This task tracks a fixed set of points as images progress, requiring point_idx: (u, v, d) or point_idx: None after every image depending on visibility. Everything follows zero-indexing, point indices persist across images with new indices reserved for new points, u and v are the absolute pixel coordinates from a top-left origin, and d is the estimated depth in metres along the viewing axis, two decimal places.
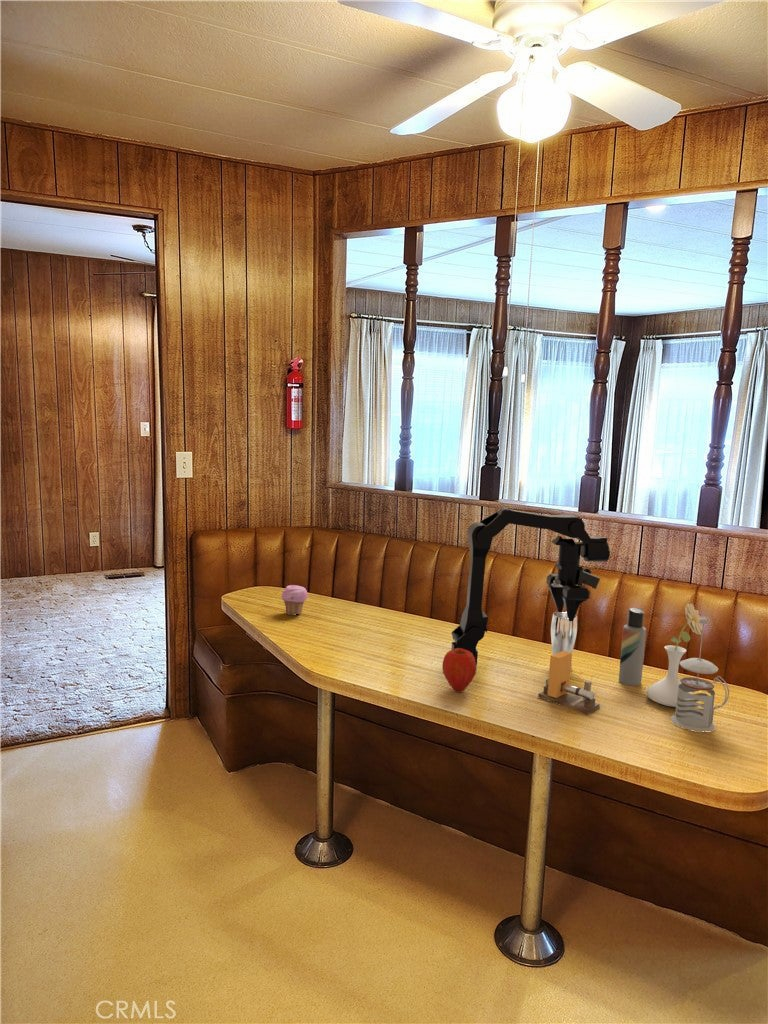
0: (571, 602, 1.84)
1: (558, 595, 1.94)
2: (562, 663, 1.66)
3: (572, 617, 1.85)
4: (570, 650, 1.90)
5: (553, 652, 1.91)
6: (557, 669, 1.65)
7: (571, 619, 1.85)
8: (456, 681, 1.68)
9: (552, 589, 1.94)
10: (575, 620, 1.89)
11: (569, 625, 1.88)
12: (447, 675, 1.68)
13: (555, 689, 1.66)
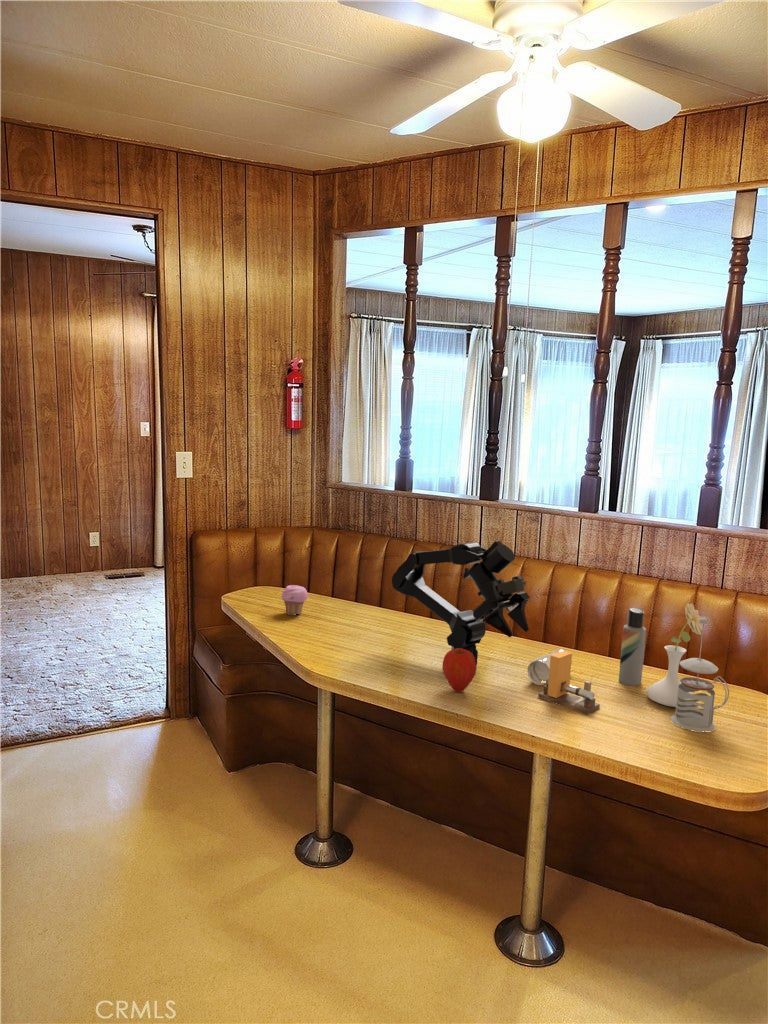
0: (495, 620, 1.75)
1: (516, 616, 1.81)
2: (562, 663, 1.66)
3: (508, 632, 1.73)
4: None
5: None
6: (557, 669, 1.65)
7: (509, 634, 1.73)
8: (456, 681, 1.68)
9: (509, 614, 1.83)
10: None
11: None
12: (447, 675, 1.68)
13: (555, 689, 1.66)
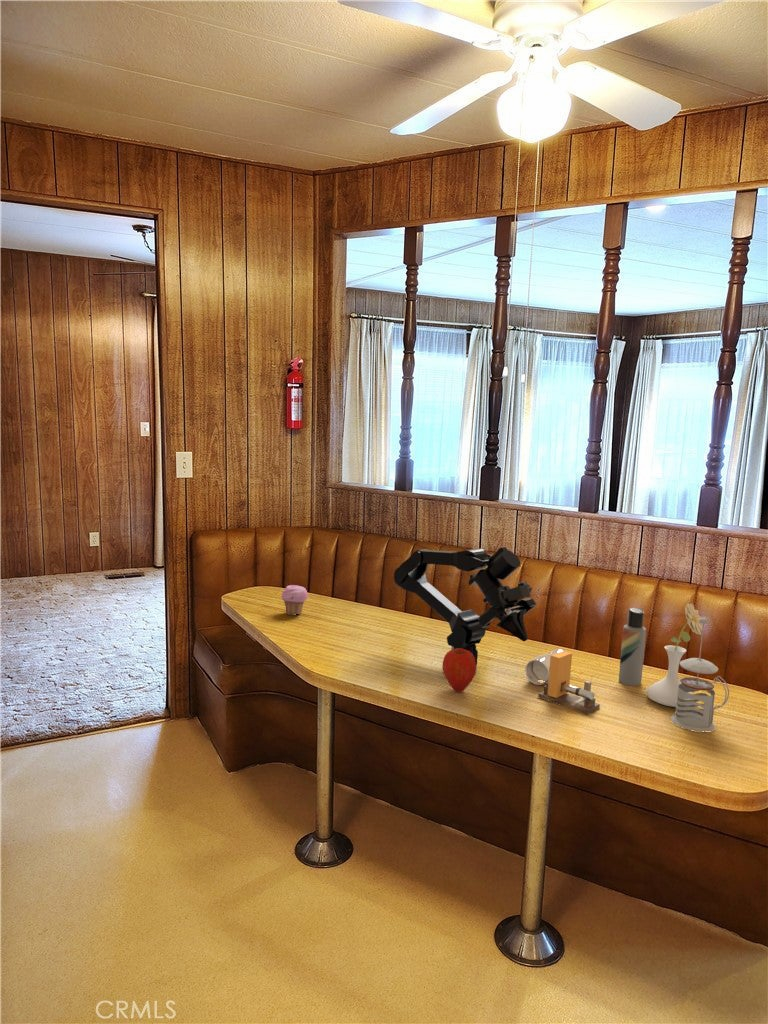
0: (509, 624, 1.76)
1: None
2: (562, 663, 1.66)
3: (522, 636, 1.75)
4: None
5: None
6: (557, 669, 1.65)
7: (523, 638, 1.75)
8: (456, 681, 1.68)
9: None
10: None
11: None
12: (447, 675, 1.68)
13: (555, 689, 1.66)
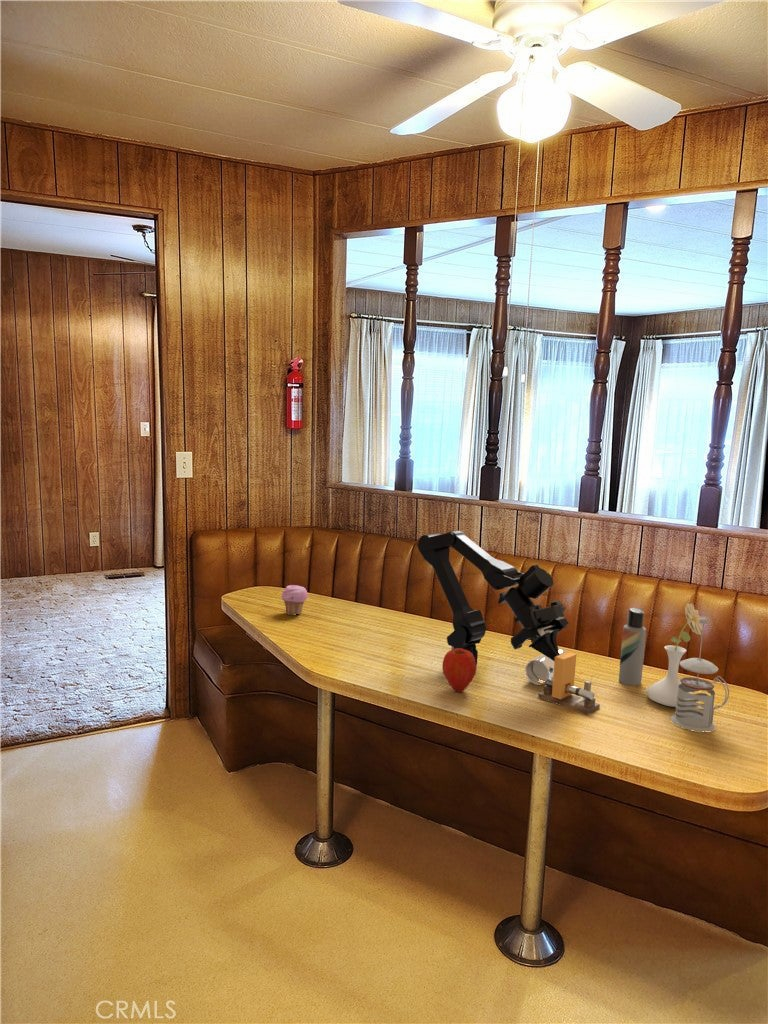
0: (542, 645, 1.70)
1: None
2: (566, 664, 1.65)
3: None
4: None
5: None
6: (561, 671, 1.65)
7: None
8: (456, 681, 1.68)
9: None
10: None
11: None
12: (447, 675, 1.68)
13: (559, 690, 1.65)
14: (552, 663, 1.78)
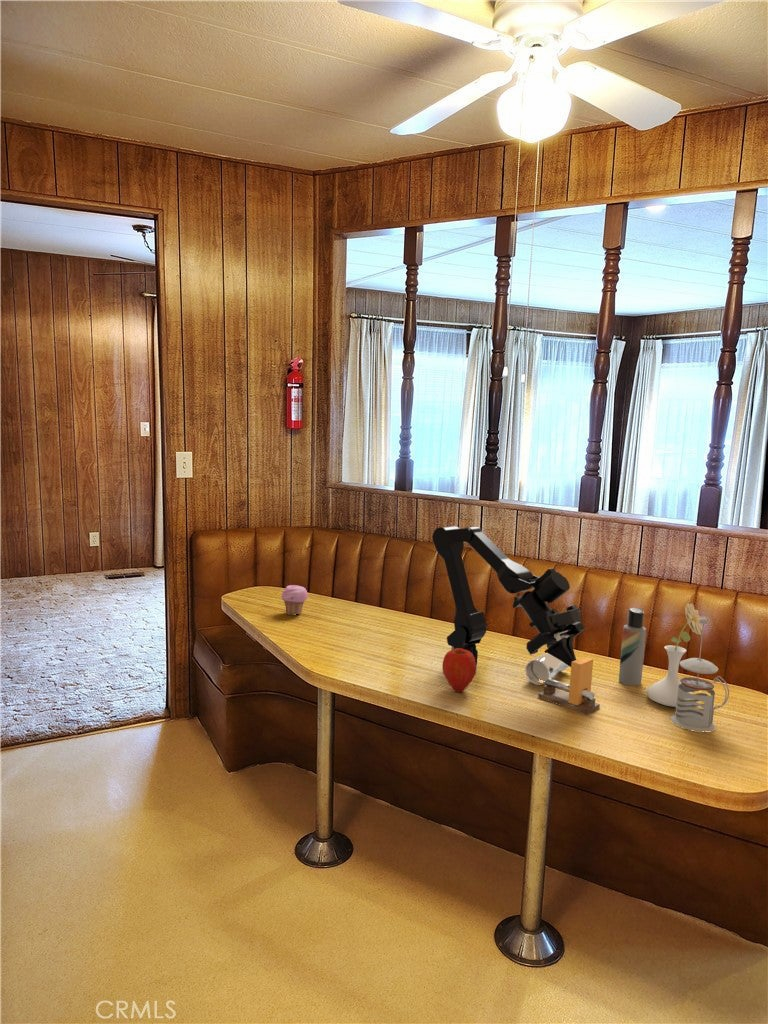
0: (558, 650, 1.67)
1: None
2: (583, 669, 1.62)
3: None
4: (559, 671, 1.84)
5: None
6: (578, 676, 1.61)
7: None
8: (456, 681, 1.68)
9: None
10: None
11: None
12: (447, 675, 1.68)
13: (576, 696, 1.62)
14: (552, 663, 1.78)
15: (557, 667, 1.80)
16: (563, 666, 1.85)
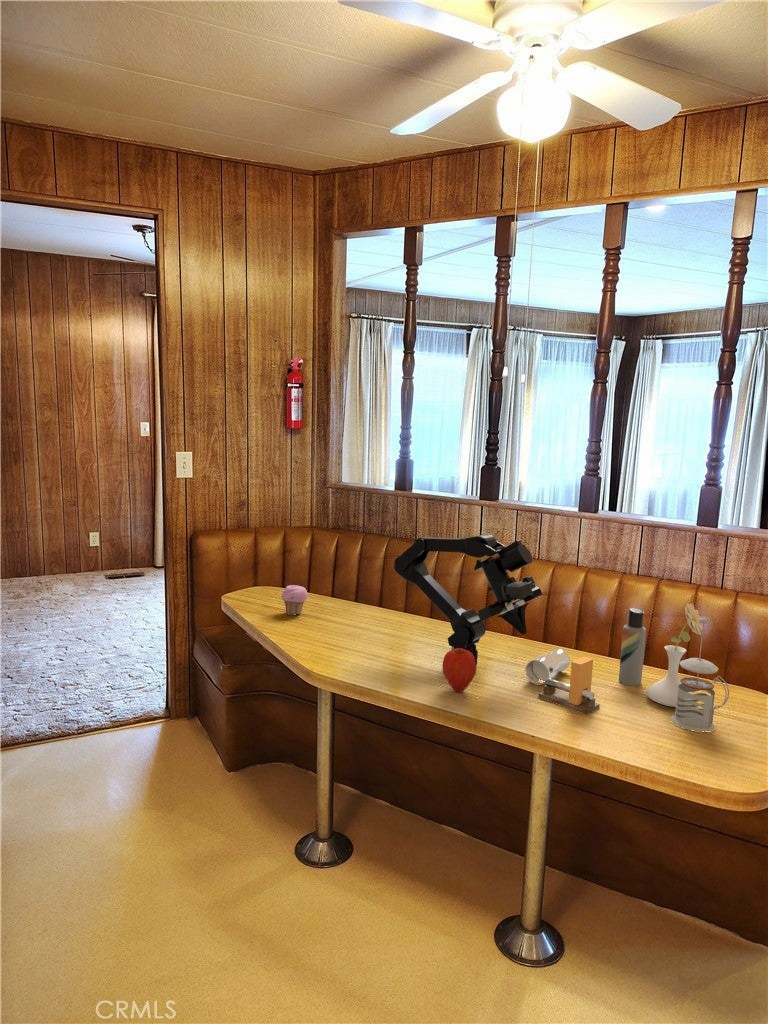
0: (510, 616, 1.79)
1: None
2: (583, 669, 1.62)
3: (521, 630, 1.78)
4: (559, 671, 1.84)
5: None
6: (578, 676, 1.61)
7: (522, 632, 1.78)
8: (456, 681, 1.68)
9: None
10: None
11: None
12: (447, 675, 1.68)
13: (576, 696, 1.62)
14: (552, 663, 1.78)
15: (557, 667, 1.80)
16: (563, 666, 1.85)
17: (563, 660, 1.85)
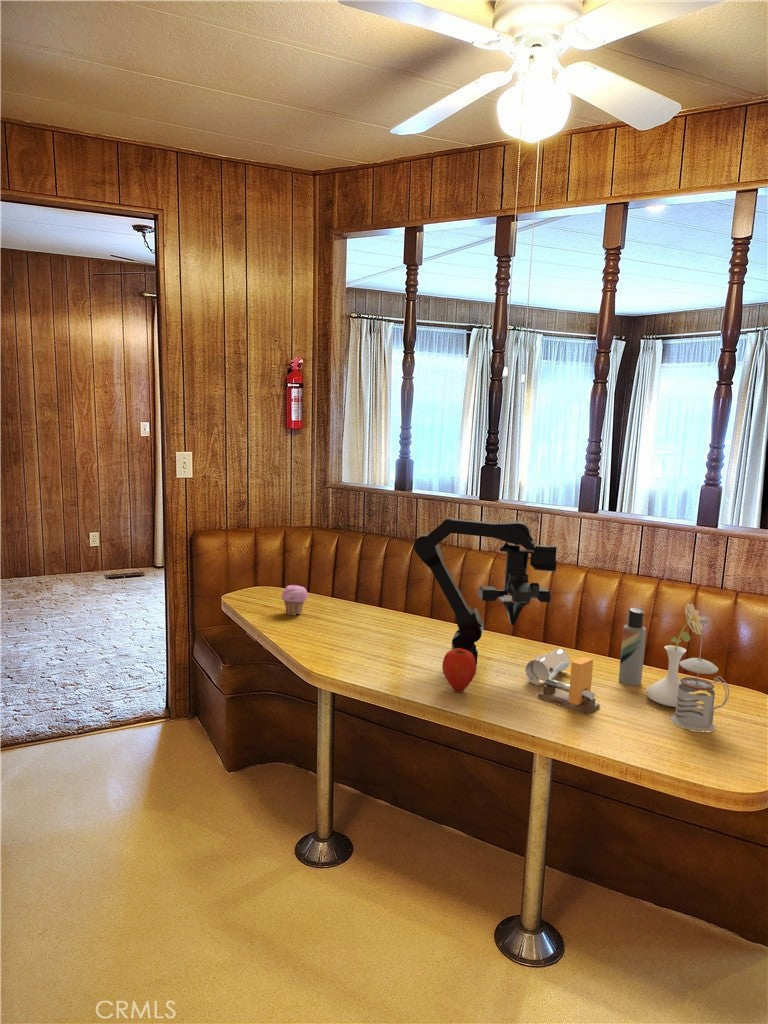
0: None
1: (514, 607, 1.86)
2: (583, 669, 1.62)
3: (510, 621, 1.85)
4: (559, 671, 1.84)
5: None
6: (578, 676, 1.61)
7: (510, 623, 1.85)
8: (456, 681, 1.68)
9: None
10: None
11: None
12: (447, 675, 1.68)
13: (576, 696, 1.62)
14: (552, 663, 1.78)
15: (557, 667, 1.80)
16: (563, 666, 1.85)
17: (563, 660, 1.85)
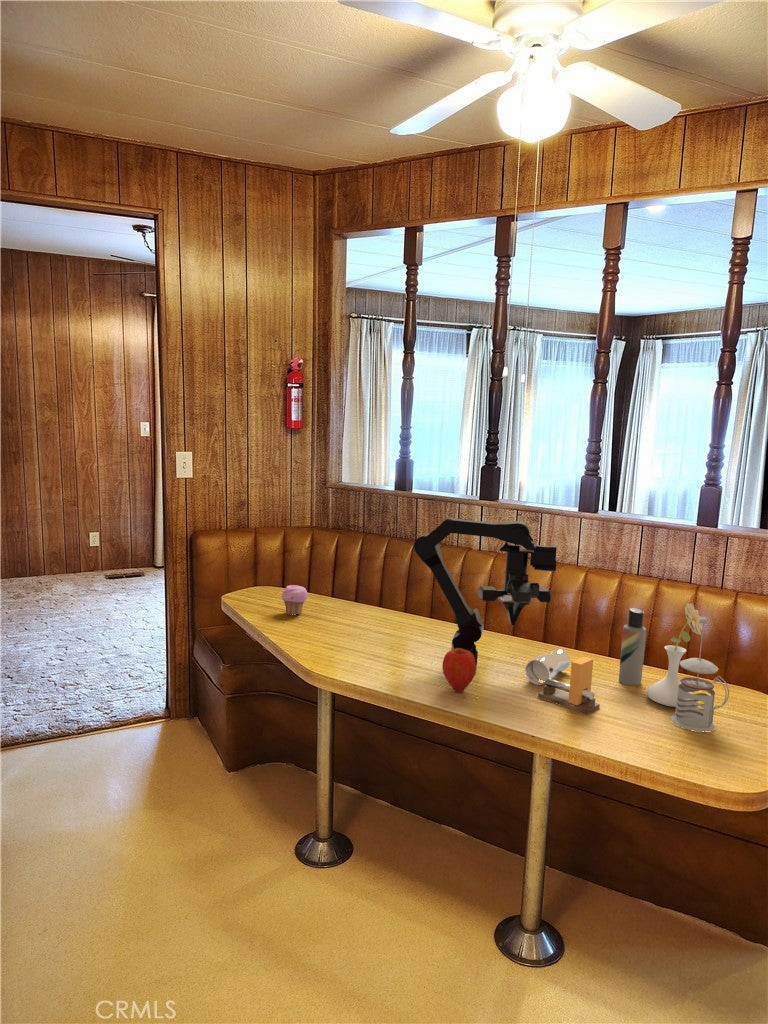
0: None
1: (514, 607, 1.86)
2: (583, 669, 1.62)
3: (510, 621, 1.85)
4: (559, 671, 1.84)
5: None
6: (578, 676, 1.61)
7: (510, 623, 1.85)
8: (456, 681, 1.68)
9: None
10: None
11: None
12: (447, 675, 1.68)
13: (576, 696, 1.62)
14: (552, 663, 1.78)
15: (557, 667, 1.80)
16: (563, 666, 1.85)
17: (563, 660, 1.85)
